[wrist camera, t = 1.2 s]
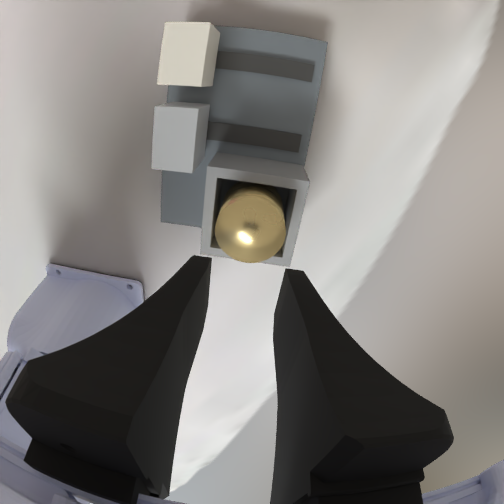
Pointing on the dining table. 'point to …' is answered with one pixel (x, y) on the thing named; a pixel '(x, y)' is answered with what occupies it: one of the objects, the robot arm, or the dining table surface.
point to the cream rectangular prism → (188, 54)
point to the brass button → (251, 222)
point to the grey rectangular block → (179, 136)
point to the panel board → (250, 131)
